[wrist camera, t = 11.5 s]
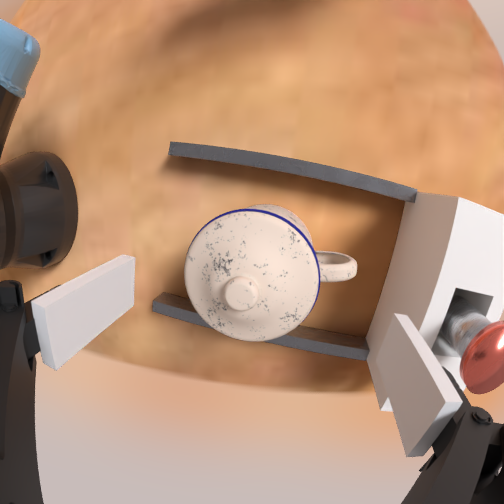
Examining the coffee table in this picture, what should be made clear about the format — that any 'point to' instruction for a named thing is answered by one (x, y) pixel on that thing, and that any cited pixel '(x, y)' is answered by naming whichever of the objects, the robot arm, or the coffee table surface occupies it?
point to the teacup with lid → (258, 272)
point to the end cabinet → (439, 275)
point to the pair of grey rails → (301, 334)
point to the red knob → (475, 345)
